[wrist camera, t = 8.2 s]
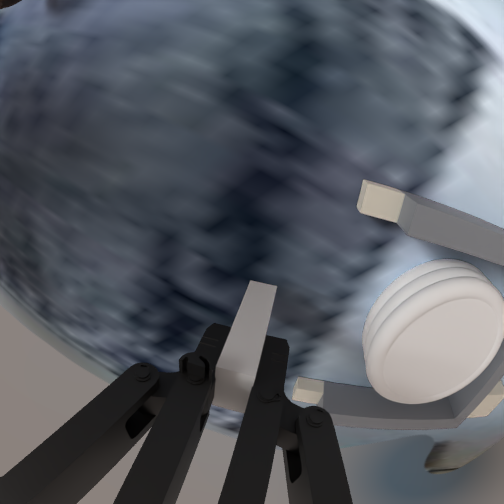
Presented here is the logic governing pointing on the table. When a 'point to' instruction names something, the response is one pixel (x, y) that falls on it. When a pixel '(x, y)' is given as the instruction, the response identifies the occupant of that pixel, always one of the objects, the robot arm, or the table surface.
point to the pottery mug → (7, 3)
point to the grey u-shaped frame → (367, 399)
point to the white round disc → (432, 331)
